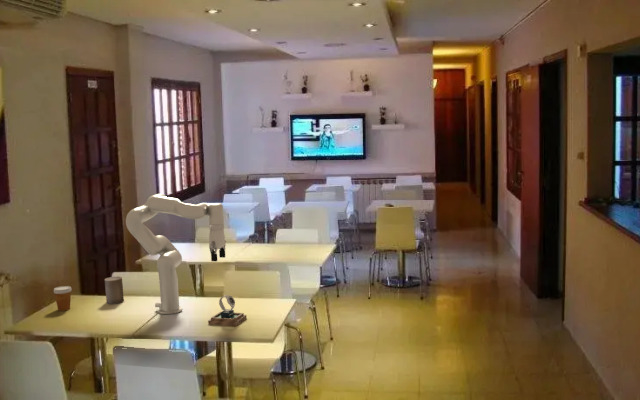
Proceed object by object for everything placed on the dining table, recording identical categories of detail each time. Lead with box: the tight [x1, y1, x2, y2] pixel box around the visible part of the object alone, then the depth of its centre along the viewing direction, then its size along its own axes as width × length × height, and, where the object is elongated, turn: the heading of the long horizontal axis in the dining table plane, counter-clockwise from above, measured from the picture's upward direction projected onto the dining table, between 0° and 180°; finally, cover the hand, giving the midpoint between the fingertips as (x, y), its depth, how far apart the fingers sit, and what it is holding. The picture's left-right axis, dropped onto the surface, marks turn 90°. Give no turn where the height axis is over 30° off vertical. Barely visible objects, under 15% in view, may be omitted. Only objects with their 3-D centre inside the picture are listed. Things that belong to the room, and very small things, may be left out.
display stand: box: [207, 311, 247, 327], centre depth 371 cm, size 15×13×3 cm
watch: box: [218, 294, 236, 318], centre depth 370 cm, size 6×8×11 cm
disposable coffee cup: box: [53, 285, 72, 312], centre depth 406 cm, size 10×10×12 cm
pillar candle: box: [104, 276, 125, 305], centre depth 418 cm, size 10×10×15 cm
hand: (218, 259), depth 386 cm, fingers open, 9 cm apart
